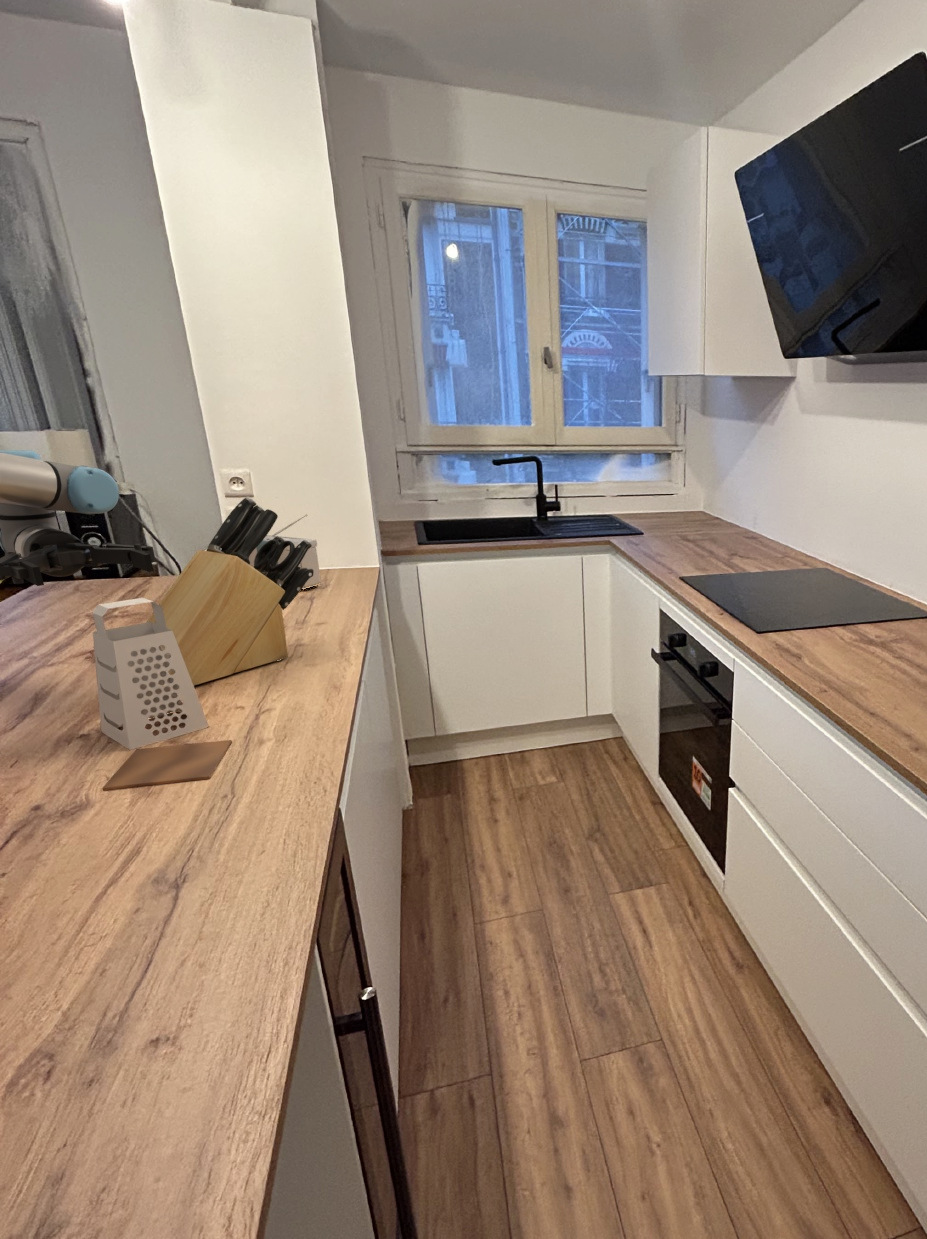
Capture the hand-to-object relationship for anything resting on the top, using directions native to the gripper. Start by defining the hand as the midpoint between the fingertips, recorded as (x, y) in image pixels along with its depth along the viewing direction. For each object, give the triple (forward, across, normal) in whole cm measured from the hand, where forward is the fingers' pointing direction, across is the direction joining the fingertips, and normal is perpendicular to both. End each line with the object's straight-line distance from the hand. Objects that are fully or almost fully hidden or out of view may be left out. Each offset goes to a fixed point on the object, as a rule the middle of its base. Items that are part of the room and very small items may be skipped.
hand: (96, 569), depth 109 cm
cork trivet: (+25, +3, -24) cm, 34 cm away
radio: (-72, -59, -24) cm, 96 cm away
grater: (+10, 0, -24) cm, 26 cm away
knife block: (-12, -20, -24) cm, 33 cm away
